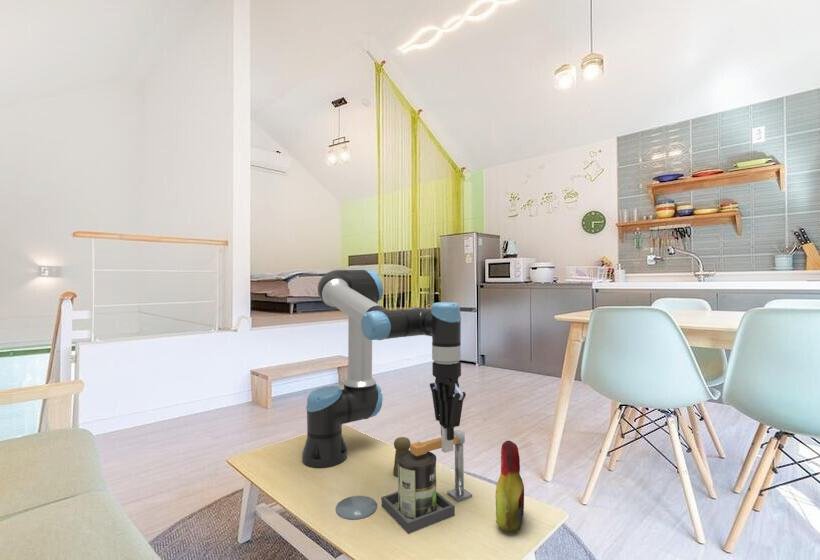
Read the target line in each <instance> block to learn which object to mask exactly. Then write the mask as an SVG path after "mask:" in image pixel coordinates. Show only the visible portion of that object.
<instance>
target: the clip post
mask: <svg viewBox="0 0 820 560" xmlns="http://www.w3.org/2000/svg"><path fill="white" fill-rule="evenodd" d="M464 465H465V464H464V443H462V444H454V481H455V483H454V484H455V485H454V486H455V487H454V488H453V489H451V490H447V491H446V495H448V496H449V497H450V498H452V500H454V501H456V502H457V503H460V502H463V501H465V500H468V499H471V498H473V494H472V493H471V492H470V491H468V490H467V489H465V486H464V485H465V484H464V483H465V477H464V475H465V474H464V473H465V471H464V470H465V467H464Z"/></svg>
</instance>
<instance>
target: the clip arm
mask: <svg viewBox="0 0 820 560" xmlns="http://www.w3.org/2000/svg"><path fill="white" fill-rule="evenodd" d="M465 436H466V435H465V431H463V430H461V429H459V430H458V429H457V430H456V429H455V430H454V439H453V446H455V444H462V443H463V444H465V441H466V440H465V439H466V437H465ZM439 449H442V436H441V437H438V438H434V439H431V440H426V441H422V442H421V441H417V442H414V443H410V448H409V450H410V452H411V453H412V454H414V455H415V456H419V455H423V454H426V453H427V452H431V451H436V450H439Z"/></svg>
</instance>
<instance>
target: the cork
mask: <svg viewBox="0 0 820 560" xmlns="http://www.w3.org/2000/svg"><path fill="white" fill-rule="evenodd" d="M410 444H411V439H409V438H408V437H405V436H400V437H397V438H395V440H394V442H393V446H394V449H395V452H394V453H395V454H394V462H393V463H394V464H393V472H392V475H393V476H394V477H395V478H397V479H398V462H397V457H398V455H399V454H401V453H403V452H405V451H409V450H410Z"/></svg>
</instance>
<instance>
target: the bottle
mask: <svg viewBox="0 0 820 560" xmlns="http://www.w3.org/2000/svg"><path fill="white" fill-rule="evenodd" d="M520 464H521V461H520V453H519V447H518V445H517V444H516V443H515V442H513V441H512V440H506V441H504V442H503V443H502V444H501V450H500V475H499V478H498V480H497V483H496V487H495V523H496V525H497V526H498V527H499V528H500V529H502V530H503V531H505V532H517V531H518V530H520V528H521V526H522V522H523V519H524V512H525V511H524V509H525V486H524V481H523V478H522V477H521V474H520V471H521V465H520Z"/></svg>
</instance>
